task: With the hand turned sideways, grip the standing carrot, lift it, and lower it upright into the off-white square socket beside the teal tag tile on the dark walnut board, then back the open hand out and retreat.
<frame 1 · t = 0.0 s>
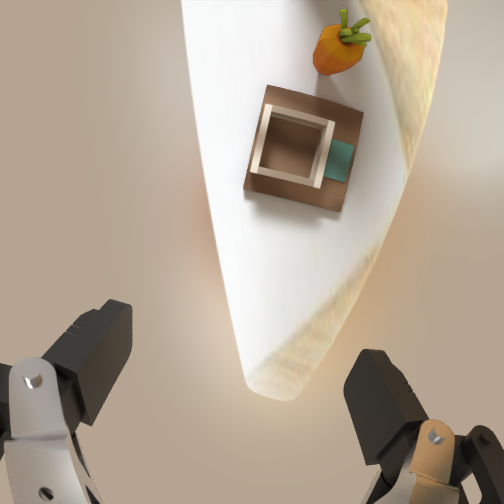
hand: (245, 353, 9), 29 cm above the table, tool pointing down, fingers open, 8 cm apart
carrot: (320, 71, 31), on the table
socket board: (304, 147, 34), on the table
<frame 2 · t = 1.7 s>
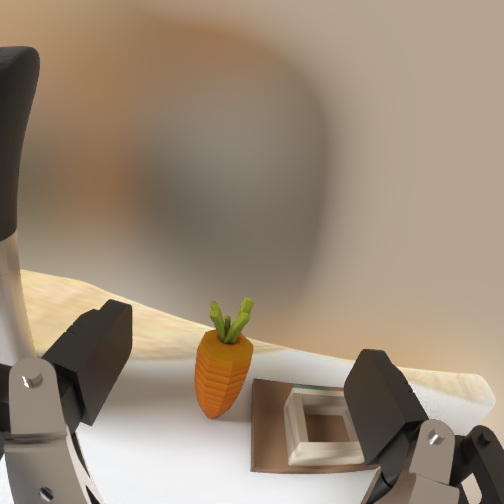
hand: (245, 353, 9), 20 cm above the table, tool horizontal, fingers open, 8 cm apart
carrot: (210, 417, 26), on the table
socket board: (311, 428, 27), on the table
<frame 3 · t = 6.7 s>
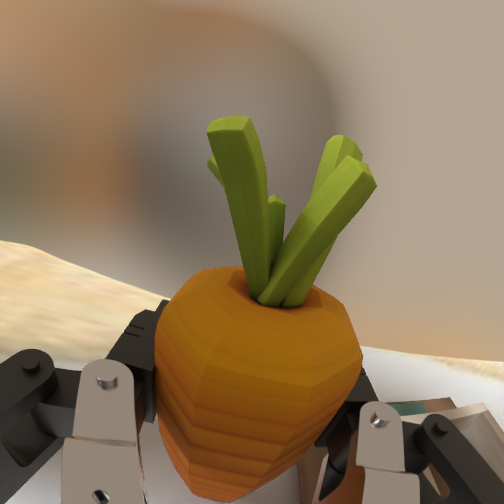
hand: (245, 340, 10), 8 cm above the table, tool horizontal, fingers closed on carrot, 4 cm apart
carrot: (210, 492, 10), on the table, touching gripper
socket board: (407, 481, 10), on the table
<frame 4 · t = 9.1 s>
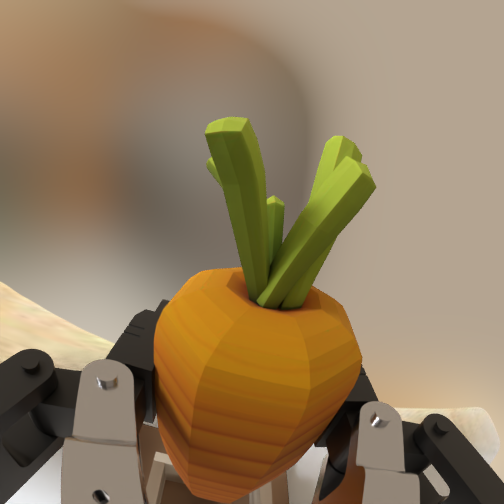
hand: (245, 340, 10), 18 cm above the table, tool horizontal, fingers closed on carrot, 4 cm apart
carrot: (210, 493, 10), point 9 cm above the table, touching gripper
socket board: (198, 503, 15), on the table
when the fingers open (10 cm above the table, at t = 11.7 s): carrot drops 1 cm, resting on socket board.
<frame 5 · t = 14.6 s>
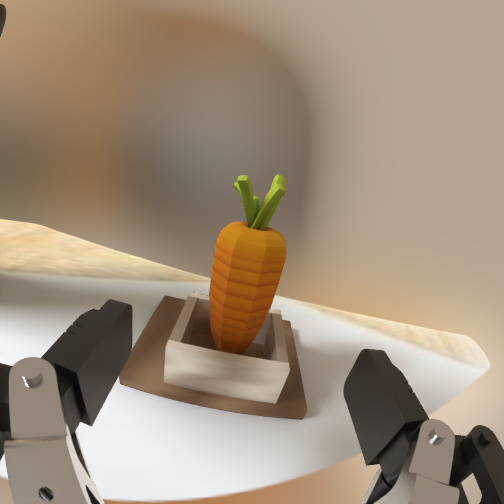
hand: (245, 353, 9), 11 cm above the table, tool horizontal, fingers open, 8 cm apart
carrot: (226, 363, 22), point 1 cm above the table, touching socket board
socket board: (219, 355, 24), on the table
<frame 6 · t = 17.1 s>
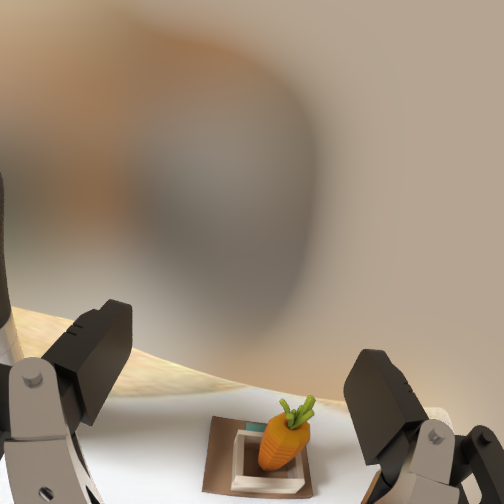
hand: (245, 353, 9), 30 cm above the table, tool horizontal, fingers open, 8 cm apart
carrot: (264, 469, 28), point 1 cm above the table, touching socket board
socket board: (257, 460, 31), on the table
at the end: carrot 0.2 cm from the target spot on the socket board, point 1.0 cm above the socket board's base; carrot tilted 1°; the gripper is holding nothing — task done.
